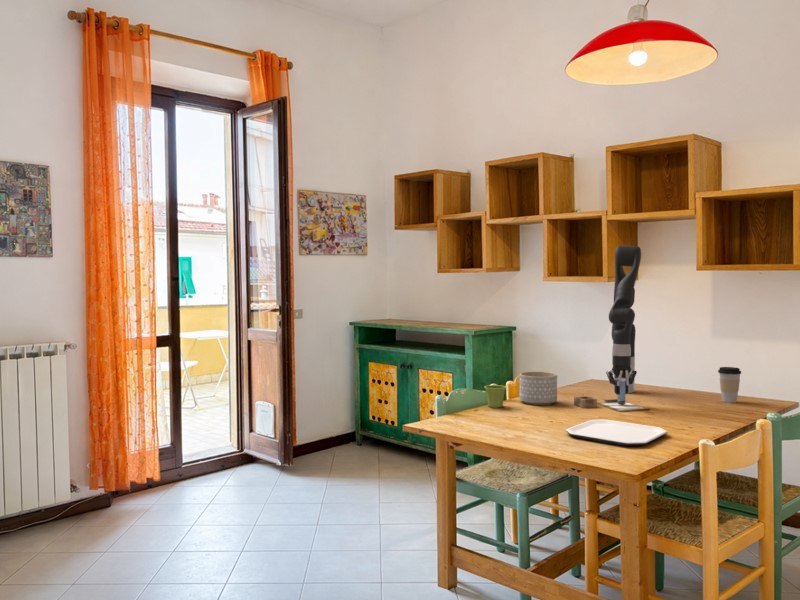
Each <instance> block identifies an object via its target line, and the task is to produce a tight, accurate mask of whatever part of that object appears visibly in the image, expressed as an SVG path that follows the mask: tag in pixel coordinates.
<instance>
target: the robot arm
mask: <svg viewBox="0 0 800 600" xmlns="http://www.w3.org/2000/svg"><path fill="white" fill-rule="evenodd" d="M641 259H642V249H641V247H640V246H637V245H635V246H634V245H617V247H616V248H615V251H614V269H615V270H614V289H613V304H612V306H611V308H610V310H609V313H608V321H609V322H610V323H611V324H612V326H611V339H612V363H611V364H612V368H611V370H609V371H608V370H607V371H605V372H606V373H605V374H606V376H607V379H608V381H609V384H610V385H613V391H614V394H615V395H617V396H618V395H619V394H620V386H619V384H620V381H621V378H626V381H625V395H628V394H631V393H635V389H636V388H635V386H636V383H635V379H636V375H637V370H635V369H636V367H635V366H636V359H635V358H636V354H635V351H636V350H635V348H636V347H635V346H636V343H635V342H636V326H635V324H634V322H635V319H636V315H635V314H636V313H635V311H634V309H633V308H632V307H633V305H634V304H635V297H636V295H635V294H636V290H635V284H636V281H637V277H638V274H639V269H640V264H641ZM624 267H631V268H630V269H629V271H628V273H627V274H626V272H625V270H624Z"/></svg>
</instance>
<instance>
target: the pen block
mask: <svg viewBox="0 0 800 600" xmlns="http://www.w3.org/2000/svg"><path fill="white" fill-rule="evenodd" d="M597 403H598V399H597V398H596V397H593V396H589V395H588V396H587V395H586V396H574V397H573V405H574V406H576V407H579V408H581V409H582V408H583V409H586V408H597V407H598V404H597Z"/></svg>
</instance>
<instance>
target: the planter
mask: <svg viewBox="0 0 800 600" xmlns="http://www.w3.org/2000/svg"><path fill="white" fill-rule="evenodd" d="M519 400H520V401H521V402H523V403H524V404H526V405H532V406H533V405H534V406H549V405H552V404H554V403H556V402H557V401H558V375H557V373H555V372H549V371H523V372H520V373H519Z"/></svg>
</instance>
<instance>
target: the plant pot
mask: <svg viewBox="0 0 800 600" xmlns="http://www.w3.org/2000/svg"><path fill="white" fill-rule="evenodd" d="M506 389H507V385H500V384H499V385H498V384H490V385H489V384H488V385H485V386H484V390H485V393H486V399H487V400H486V401H487V406H488V407H490V408H492V409H493V408H502V407H504V406H503V405H504V398H505V392H506Z"/></svg>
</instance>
